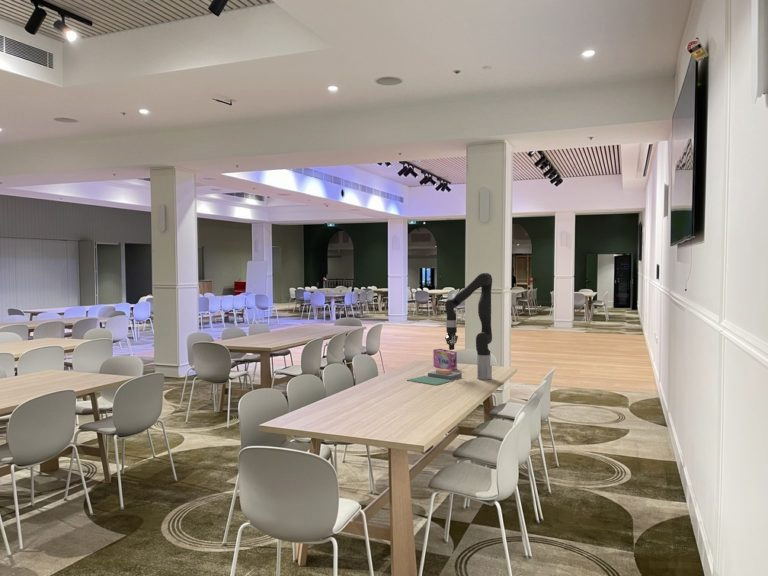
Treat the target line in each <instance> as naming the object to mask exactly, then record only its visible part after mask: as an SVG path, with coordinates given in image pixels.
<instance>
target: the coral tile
mask: <svg viewBox="0 0 768 576" xmlns="http://www.w3.org/2000/svg"><path fill="white" fill-rule="evenodd" d="M435 371H436V373H438V374H445V375H447V374H451V373H452V372H453V370H449V369H443V368H437V369H436V370H435Z"/></svg>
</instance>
